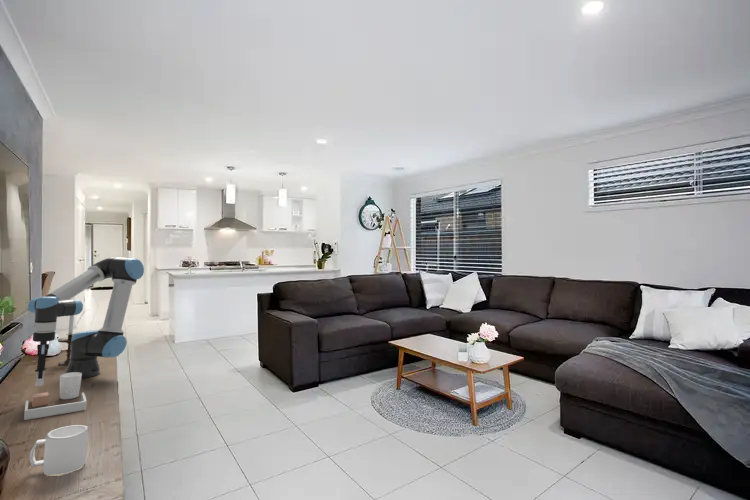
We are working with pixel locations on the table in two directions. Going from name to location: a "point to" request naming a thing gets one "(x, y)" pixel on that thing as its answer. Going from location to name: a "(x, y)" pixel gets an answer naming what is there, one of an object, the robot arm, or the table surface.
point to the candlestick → (67, 341)
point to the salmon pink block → (40, 399)
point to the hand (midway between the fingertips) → (39, 385)
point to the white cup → (70, 385)
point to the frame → (55, 409)
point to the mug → (62, 449)
